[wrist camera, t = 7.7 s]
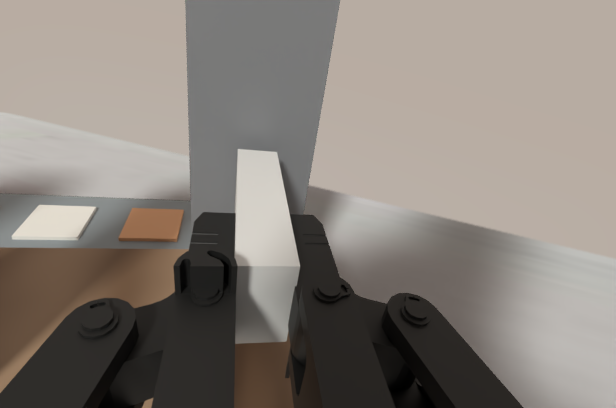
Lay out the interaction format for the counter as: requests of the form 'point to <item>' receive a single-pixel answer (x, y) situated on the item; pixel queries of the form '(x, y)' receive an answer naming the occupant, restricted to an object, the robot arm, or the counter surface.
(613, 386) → the counter surface
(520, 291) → the counter surface
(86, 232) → the pattern card
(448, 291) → the counter surface
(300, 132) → the key inner
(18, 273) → the brown wooden board
